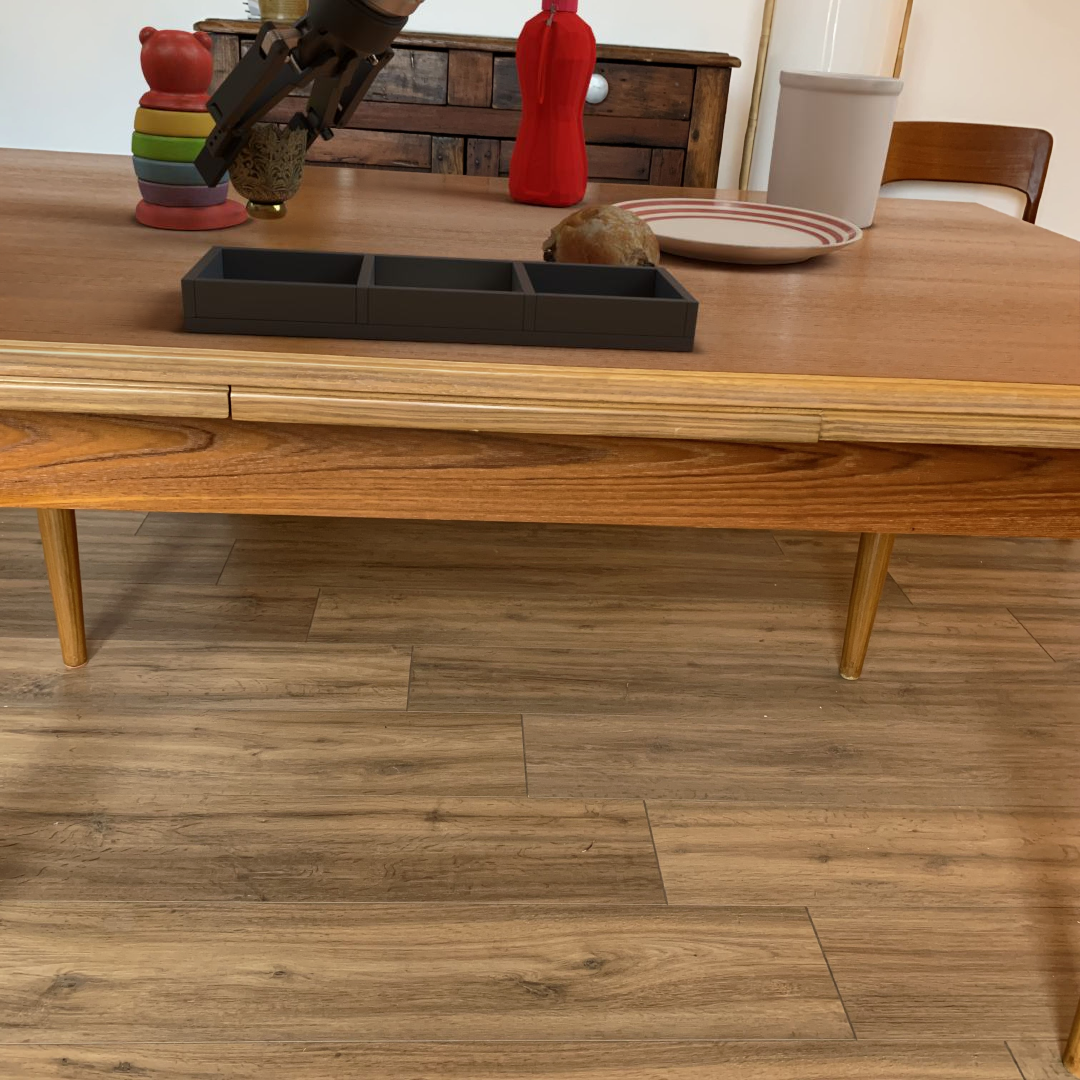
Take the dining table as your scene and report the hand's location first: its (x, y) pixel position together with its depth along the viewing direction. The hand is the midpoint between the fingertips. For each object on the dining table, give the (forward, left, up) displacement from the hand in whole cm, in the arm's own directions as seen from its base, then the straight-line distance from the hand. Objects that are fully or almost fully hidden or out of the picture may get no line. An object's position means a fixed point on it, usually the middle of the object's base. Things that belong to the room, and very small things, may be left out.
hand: (239, 172), depth 100 cm
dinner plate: (+50, -1, -6) cm, 51 cm away
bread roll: (+30, -15, -6) cm, 34 cm away
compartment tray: (+12, -31, -6) cm, 34 cm away
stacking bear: (-5, +10, -6) cm, 13 cm away
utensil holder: (+73, +19, -6) cm, 76 cm away
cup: (+2, -3, -4) cm, 5 cm away
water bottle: (+39, +29, -6) cm, 49 cm away
